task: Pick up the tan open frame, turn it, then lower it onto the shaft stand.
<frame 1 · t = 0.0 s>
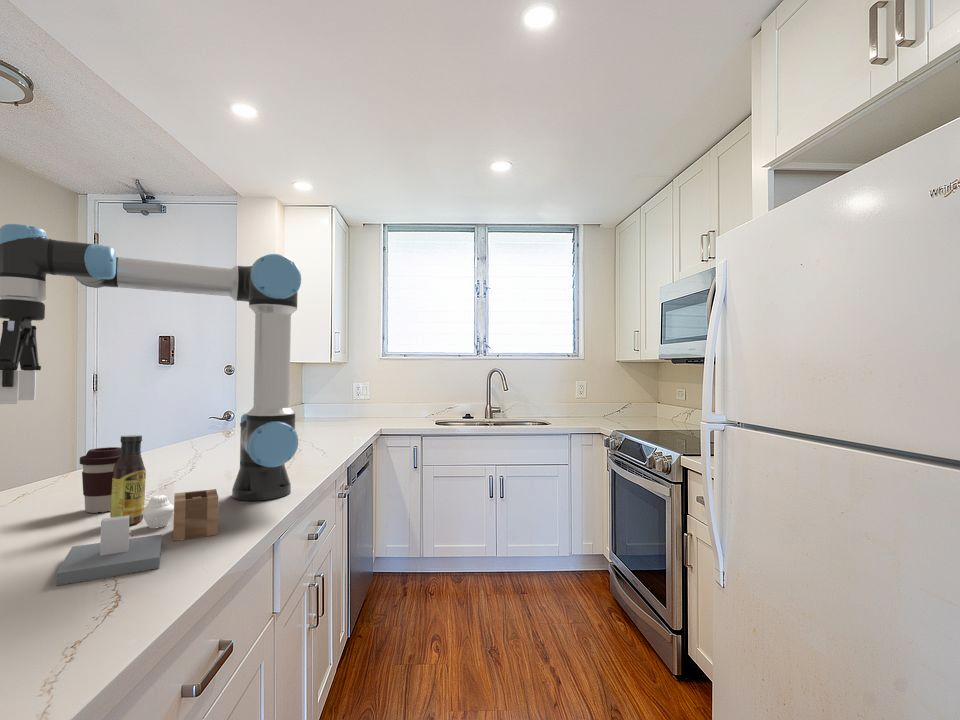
hand: (18, 402, 103), 28 cm above the countertop, tool pointing down, fingers open, 13 cm apart
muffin: (158, 527, 110), on the countertop
shaft stand: (114, 562, 89), on the countertop
sauce bottle: (127, 523, 112), on the countertop
coffee cup: (103, 510, 123), on the countertop
tan open frame: (195, 532, 106), on the countertop
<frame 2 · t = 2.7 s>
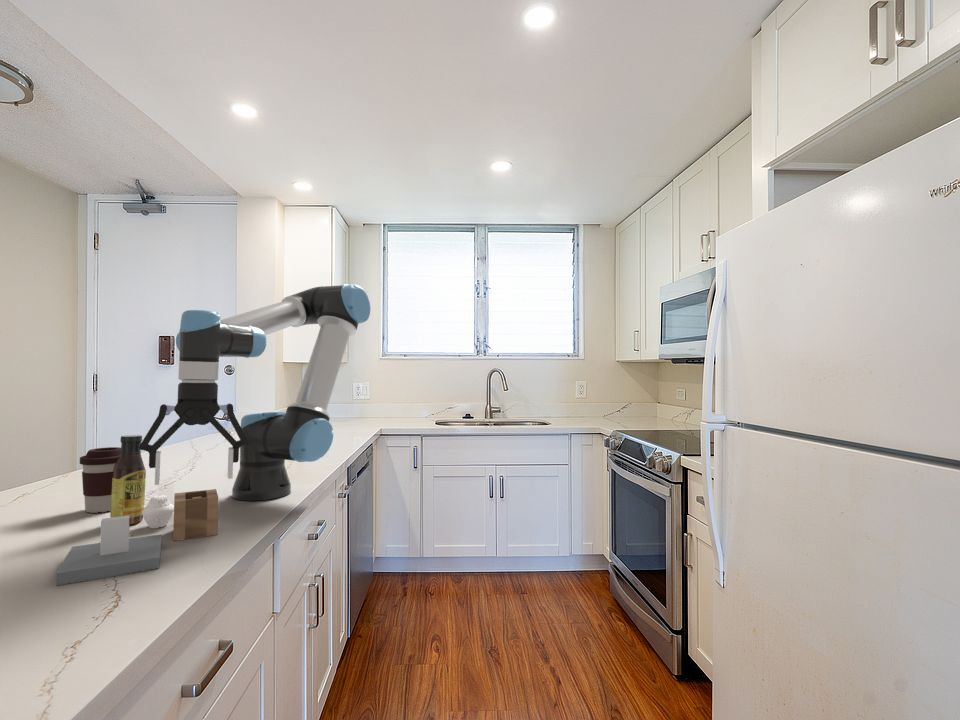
hand: (194, 480, 106), 11 cm above the countertop, tool pointing down, fingers open, 13 cm apart
nothing on the countertop moved.
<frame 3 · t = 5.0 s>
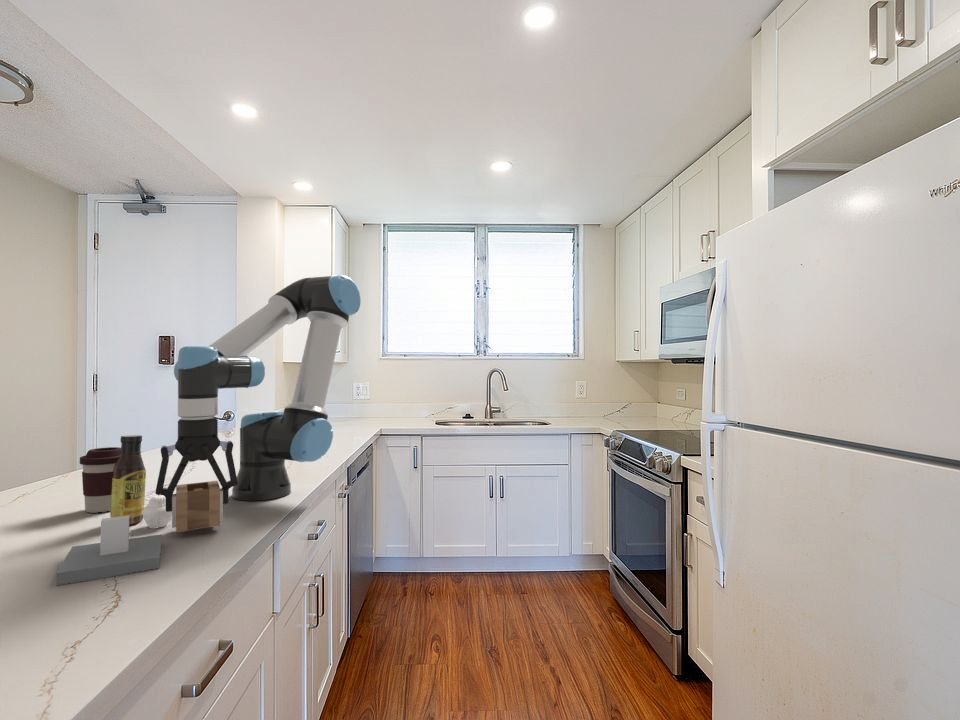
hand: (197, 522, 107), 2 cm above the countertop, tool pointing down, fingers closed on tan open frame, 8 cm apart
tan open frame: (197, 523, 107), point 2 cm above the countertop, touching gripper
everything else where it was.
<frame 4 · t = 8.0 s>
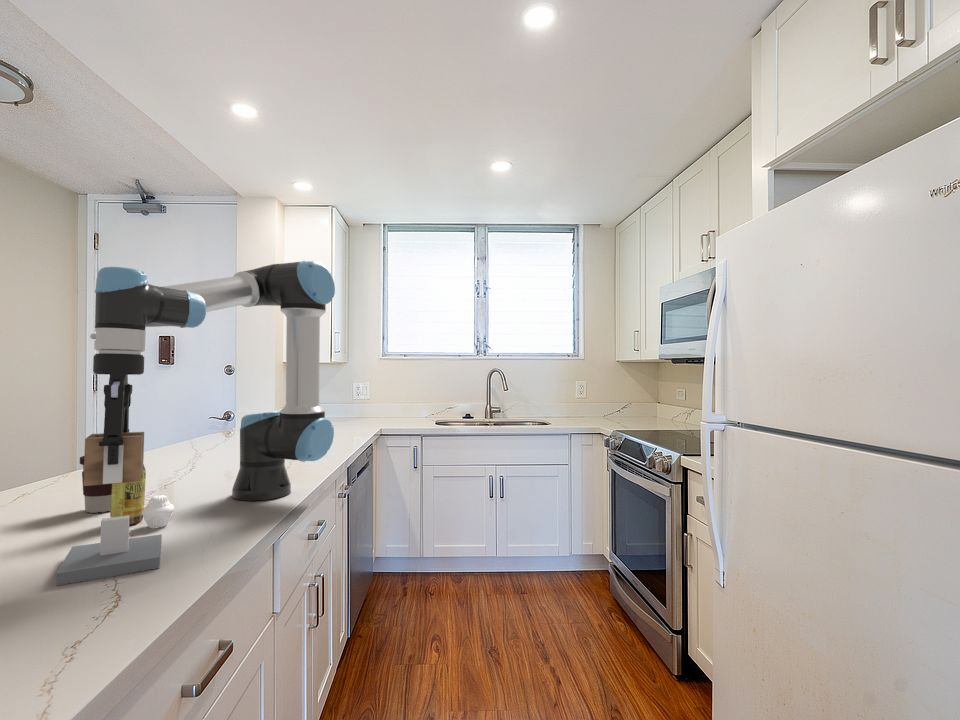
hand: (115, 478, 89), 15 cm above the countertop, tool pointing down, fingers closed on tan open frame, 8 cm apart
tan open frame: (115, 479, 89), point 15 cm above the countertop, touching gripper
everything else where it was.
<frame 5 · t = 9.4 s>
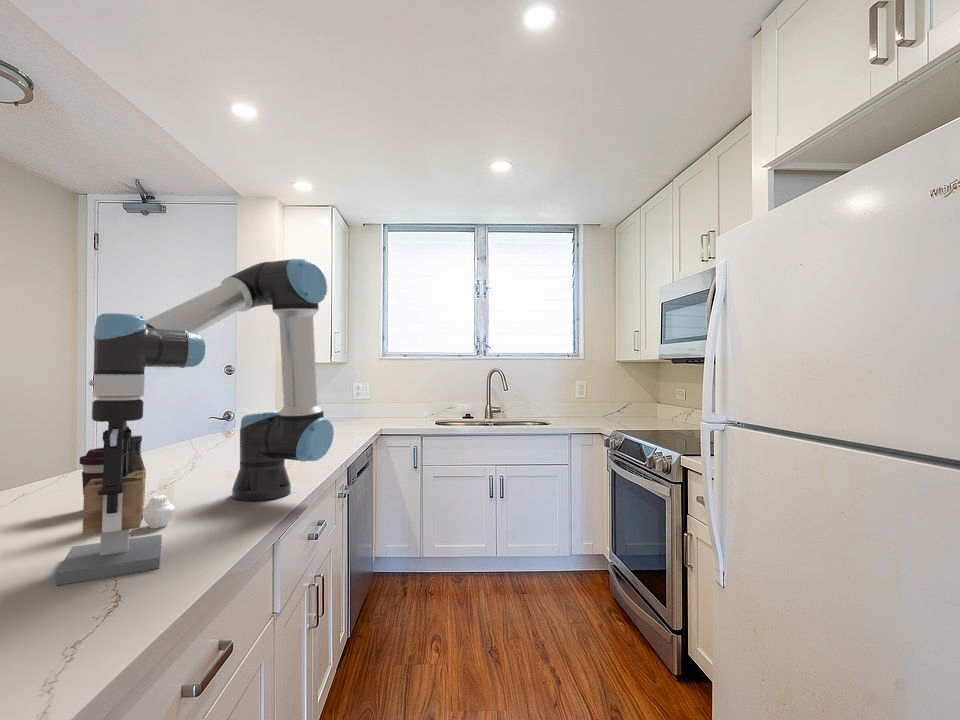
hand: (114, 524, 89), 7 cm above the countertop, tool pointing down, fingers closed on tan open frame, 8 cm apart
tan open frame: (114, 525, 89), point 7 cm above the countertop, touching gripper
everything else where it was.
when the fingers open (4 cm above the countertop, at t = 10.9 s): tan open frame drops 1 cm, resting on shaft stand.
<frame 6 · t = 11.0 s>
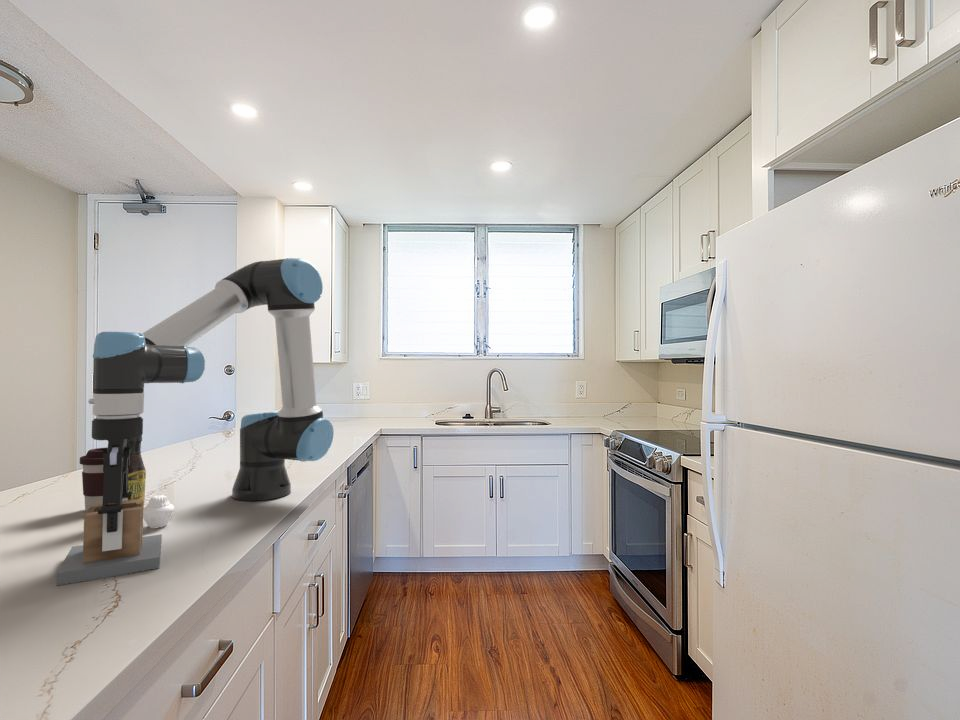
hand: (115, 541, 89), 4 cm above the countertop, tool pointing down, fingers open, 9 cm apart
tan open frame: (114, 551, 89), point 2 cm above the countertop, touching shaft stand
everything else where it was.
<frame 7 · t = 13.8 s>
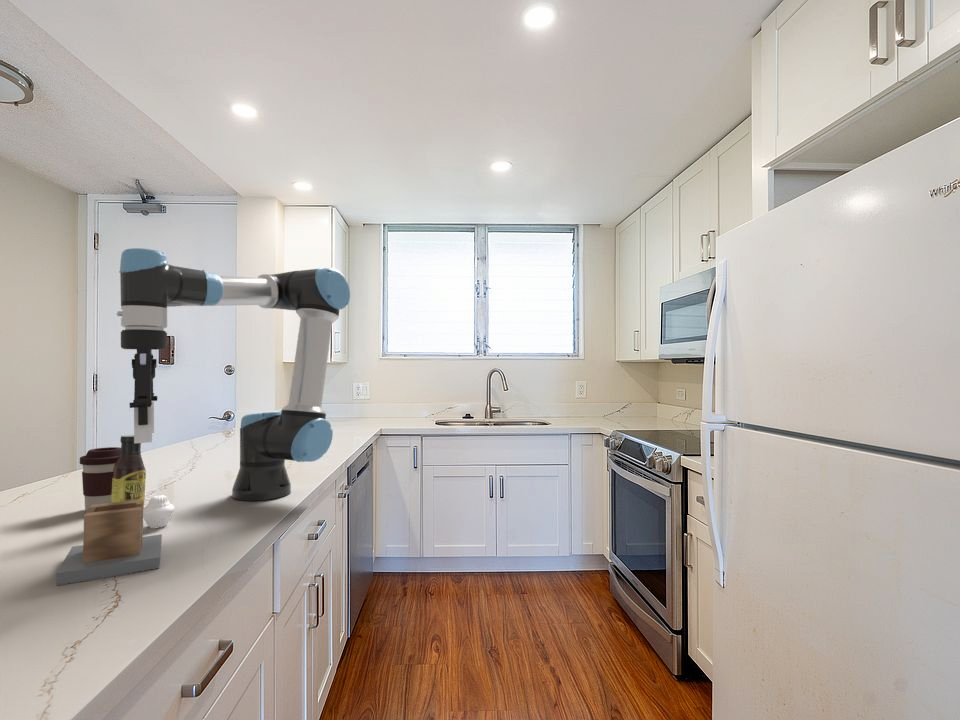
hand: (144, 437, 97), 22 cm above the countertop, tool pointing down, fingers open, 13 cm apart
nothing on the countertop moved.
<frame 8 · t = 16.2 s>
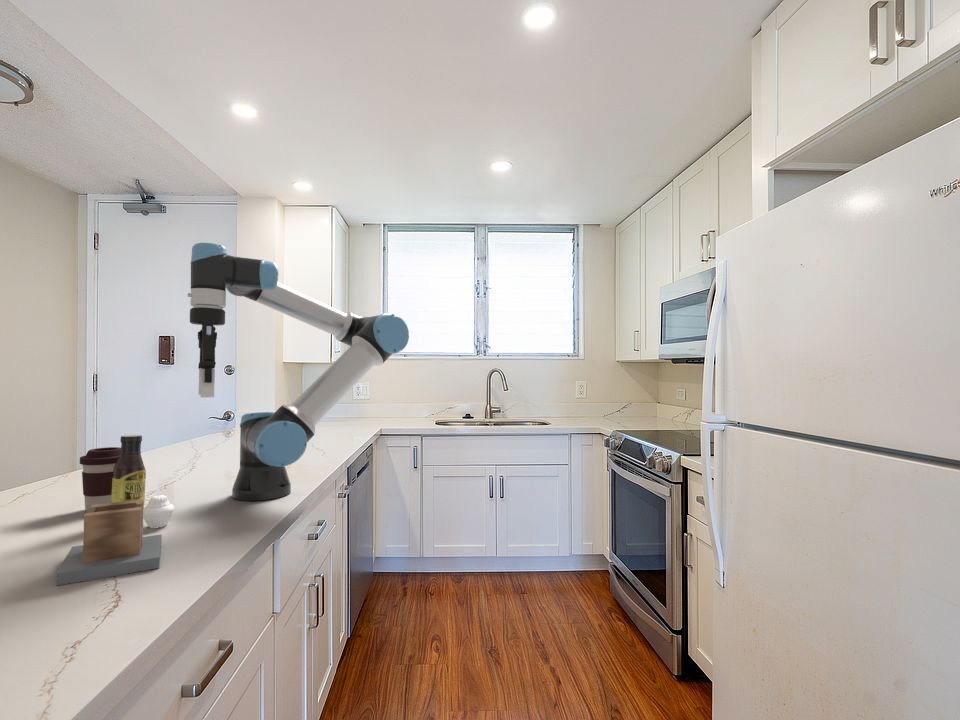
hand: (206, 396, 119), 29 cm above the countertop, tool pointing down, fingers open, 13 cm apart
nothing on the countertop moved.
at the end: tan open frame 0.1 cm off-centre on the shaft stand, point 2.0 cm above the shaft stand's base; tan open frame tilted 0°; the gripper is holding nothing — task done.
